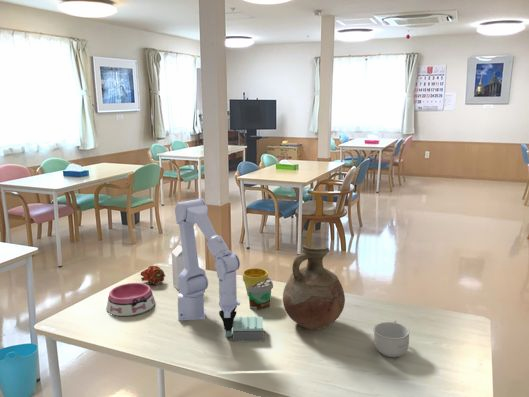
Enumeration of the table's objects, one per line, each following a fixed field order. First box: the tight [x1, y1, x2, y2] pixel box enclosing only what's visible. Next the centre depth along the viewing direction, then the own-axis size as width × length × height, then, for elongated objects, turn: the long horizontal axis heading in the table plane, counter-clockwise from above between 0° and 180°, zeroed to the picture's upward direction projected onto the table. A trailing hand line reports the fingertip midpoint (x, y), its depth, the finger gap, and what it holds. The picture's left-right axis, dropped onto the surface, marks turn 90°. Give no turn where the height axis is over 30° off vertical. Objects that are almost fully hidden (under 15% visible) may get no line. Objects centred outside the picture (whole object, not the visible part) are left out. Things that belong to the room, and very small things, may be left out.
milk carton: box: [171, 241, 184, 291], centre depth 193 cm, size 7×7×19 cm
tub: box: [232, 330, 264, 343], centre depth 152 cm, size 10×8×4 cm
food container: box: [246, 276, 274, 310], centre depth 173 cm, size 12×6×10 cm, turn 143°
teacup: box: [373, 319, 411, 358], centre depth 144 cm, size 14×11×8 cm
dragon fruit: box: [140, 265, 166, 286], centre depth 198 cm, size 8×8×12 cm
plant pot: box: [242, 267, 269, 297], centre depth 185 cm, size 10×10×10 cm
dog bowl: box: [105, 282, 157, 318], centre depth 175 cm, size 18×19×7 cm
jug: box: [282, 244, 346, 331], centre depth 157 cm, size 22×22×30 cm
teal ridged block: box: [224, 316, 264, 338], centre depth 152 cm, size 12×8×6 cm, turn 92°
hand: (228, 327), depth 152 cm, fingers closed on teal ridged block, 3 cm apart
